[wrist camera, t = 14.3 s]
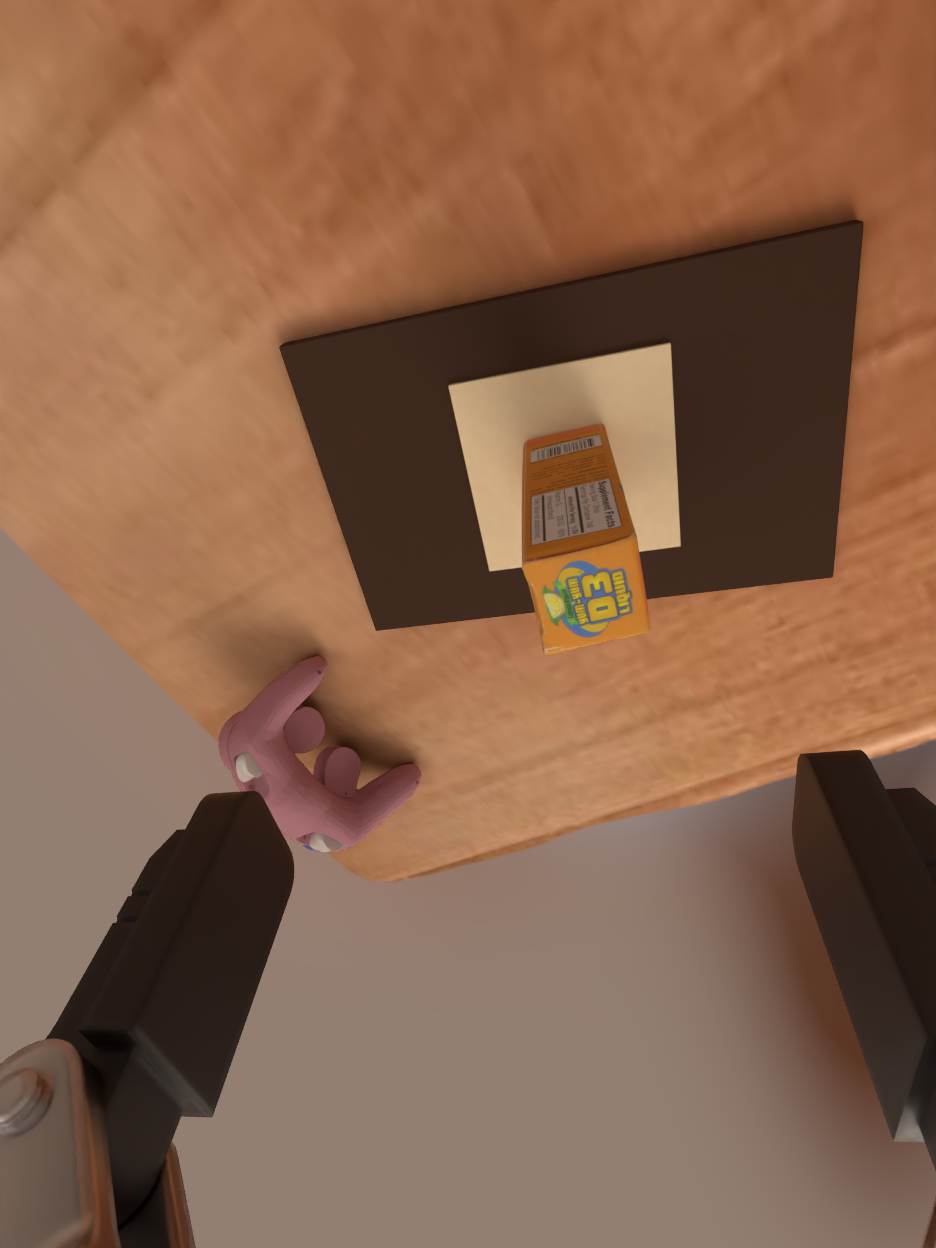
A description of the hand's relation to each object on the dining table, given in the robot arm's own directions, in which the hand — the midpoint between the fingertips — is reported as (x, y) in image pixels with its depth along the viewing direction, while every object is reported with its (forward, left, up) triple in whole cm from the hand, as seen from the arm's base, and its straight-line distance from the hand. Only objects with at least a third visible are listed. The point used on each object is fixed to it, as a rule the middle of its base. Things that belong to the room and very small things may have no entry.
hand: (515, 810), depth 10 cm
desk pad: (+1, -2, -20) cm, 20 cm away
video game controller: (-13, -15, -20) cm, 28 cm away
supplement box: (+1, -2, -19) cm, 19 cm away
